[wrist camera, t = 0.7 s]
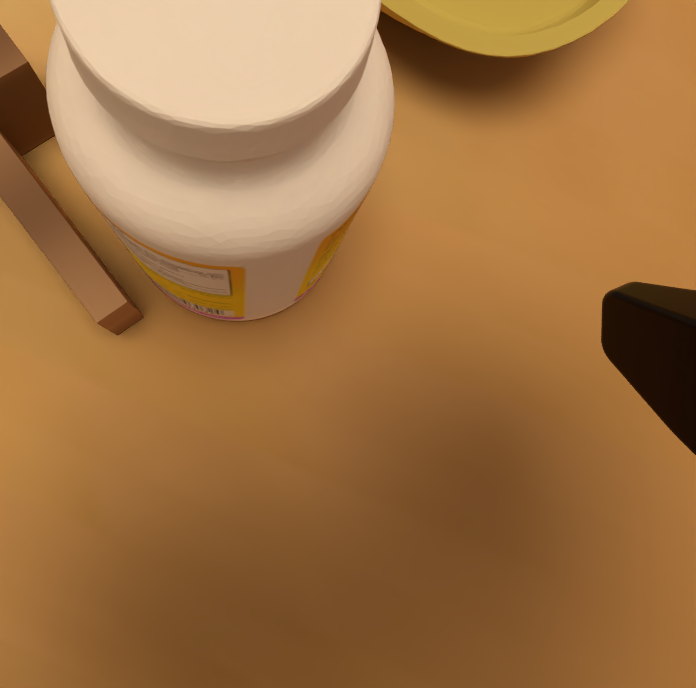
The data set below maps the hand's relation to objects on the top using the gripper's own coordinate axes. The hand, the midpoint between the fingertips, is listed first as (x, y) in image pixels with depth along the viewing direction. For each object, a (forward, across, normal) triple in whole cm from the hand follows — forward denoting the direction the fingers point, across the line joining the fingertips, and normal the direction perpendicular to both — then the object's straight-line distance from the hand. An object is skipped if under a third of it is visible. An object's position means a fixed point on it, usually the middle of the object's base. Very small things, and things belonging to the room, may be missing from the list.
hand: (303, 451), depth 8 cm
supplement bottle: (+15, -2, +3) cm, 15 cm away
